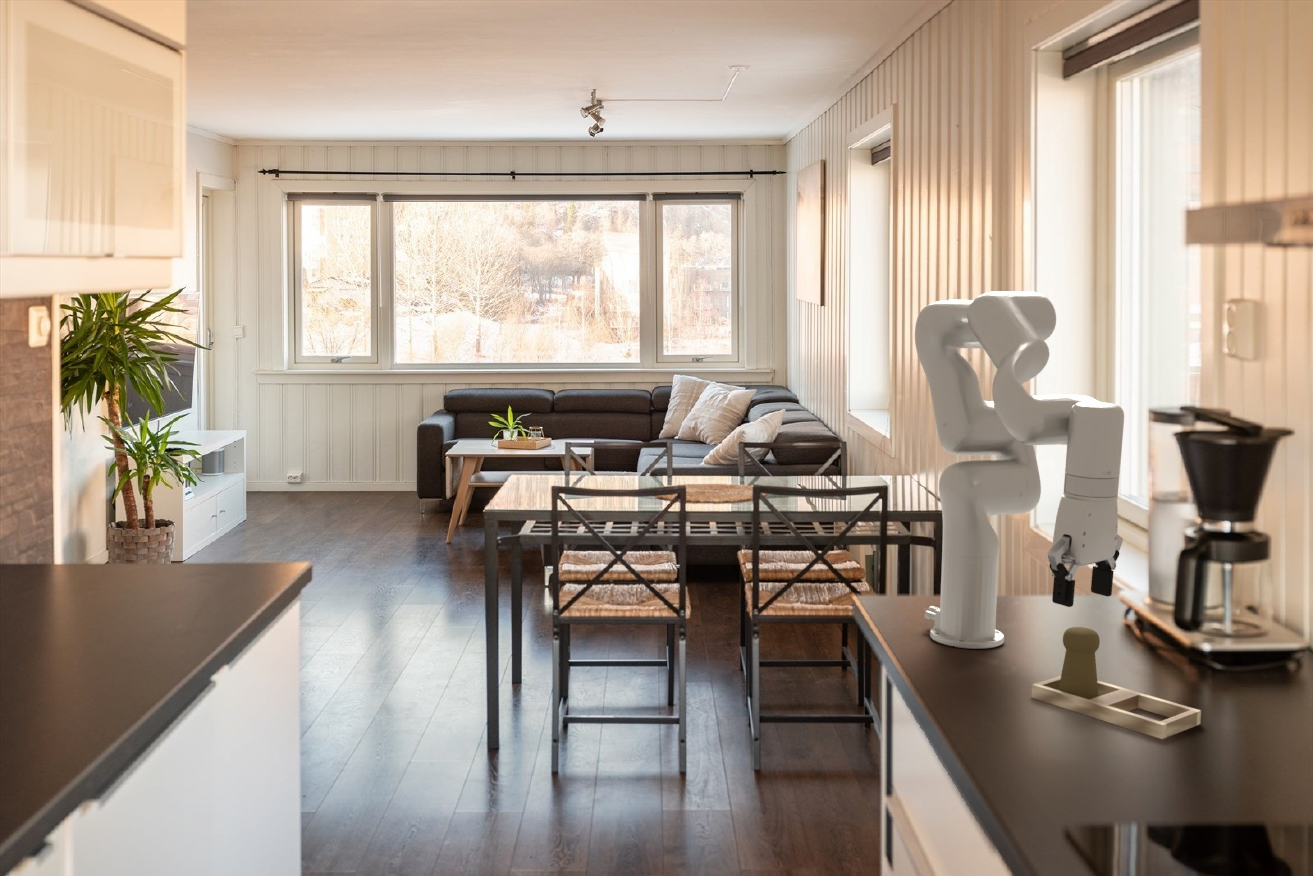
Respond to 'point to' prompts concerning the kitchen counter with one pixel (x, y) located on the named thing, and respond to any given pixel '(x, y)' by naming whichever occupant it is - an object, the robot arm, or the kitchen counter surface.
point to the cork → (1080, 663)
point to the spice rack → (1122, 708)
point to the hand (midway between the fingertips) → (1082, 599)
